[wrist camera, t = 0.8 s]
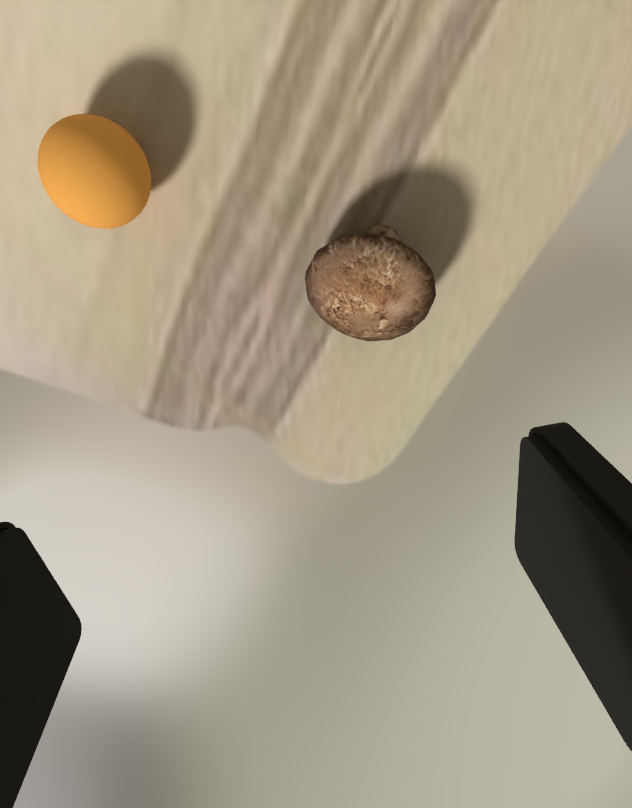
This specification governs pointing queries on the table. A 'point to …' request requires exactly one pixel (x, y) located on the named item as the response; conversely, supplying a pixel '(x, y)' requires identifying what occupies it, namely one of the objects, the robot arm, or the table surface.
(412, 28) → the table surface
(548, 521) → the robot arm
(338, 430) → the table surface
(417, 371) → the table surface
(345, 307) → the mushroom
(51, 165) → the ball
